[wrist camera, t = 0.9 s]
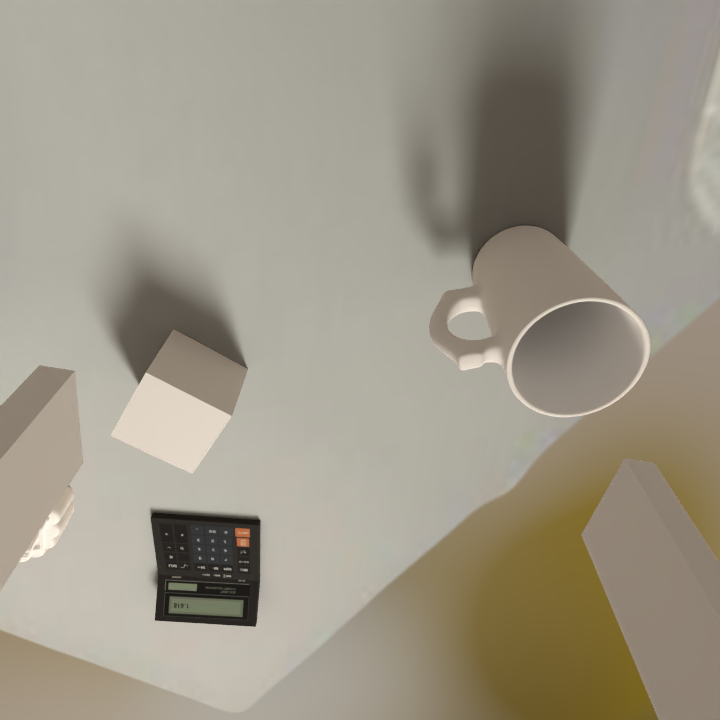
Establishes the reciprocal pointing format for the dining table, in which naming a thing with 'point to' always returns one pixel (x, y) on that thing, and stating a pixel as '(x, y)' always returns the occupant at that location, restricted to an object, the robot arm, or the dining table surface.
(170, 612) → the calculator
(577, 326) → the mug
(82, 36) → the dining table surface
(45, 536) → the mooncake
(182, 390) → the white cube
